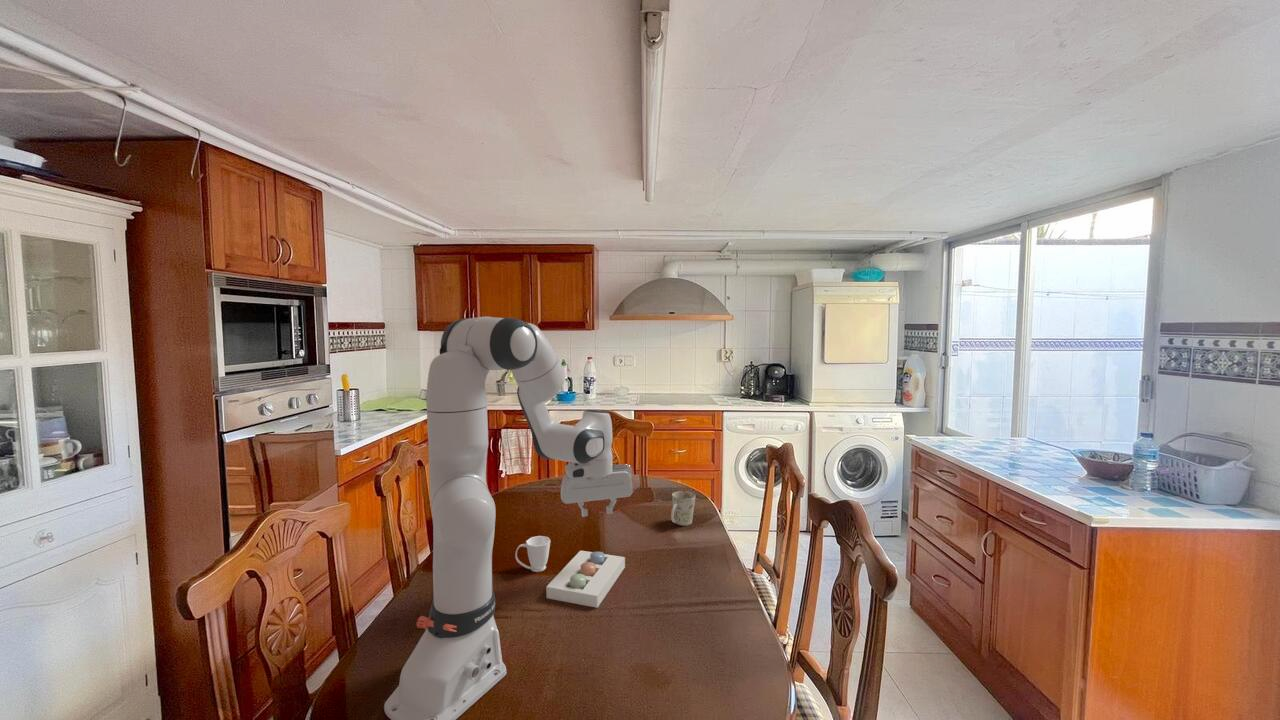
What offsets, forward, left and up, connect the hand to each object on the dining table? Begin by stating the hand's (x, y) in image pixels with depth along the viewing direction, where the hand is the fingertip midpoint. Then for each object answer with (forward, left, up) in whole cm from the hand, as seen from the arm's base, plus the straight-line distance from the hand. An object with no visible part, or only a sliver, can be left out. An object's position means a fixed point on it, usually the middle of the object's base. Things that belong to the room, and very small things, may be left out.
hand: (597, 514), depth 131 cm
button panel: (-7, 0, -16) cm, 17 cm away
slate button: (0, 0, -15) cm, 15 cm away
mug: (+38, -16, -16) cm, 45 cm away
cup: (-5, +18, -16) cm, 25 cm away
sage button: (-13, 0, -15) cm, 20 cm away
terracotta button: (-6, 0, -15) cm, 16 cm away
